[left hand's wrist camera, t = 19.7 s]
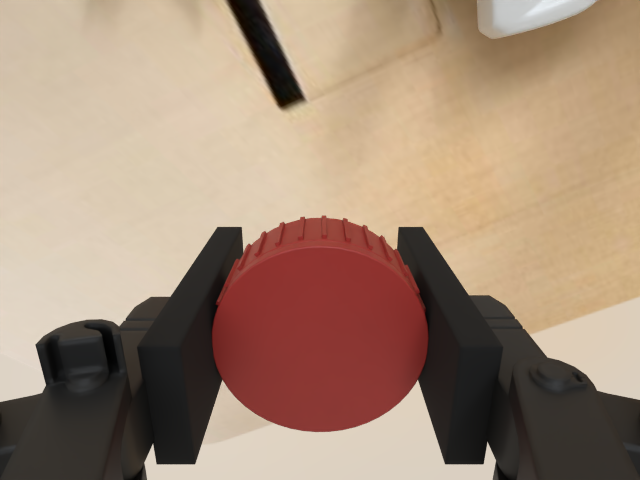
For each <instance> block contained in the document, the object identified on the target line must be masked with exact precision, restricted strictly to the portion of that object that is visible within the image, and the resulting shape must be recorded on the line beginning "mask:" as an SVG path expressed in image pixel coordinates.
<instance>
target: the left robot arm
mask: <svg viewBox="0 0 640 480" xmlns="http://www.w3.org/2000/svg"><path fill="white" fill-rule="evenodd" d="M397 250H398V252H399V254H400V256H401V258H402V261H403V263H404V265H408V267H409V269H410V272H411V274H412V276H413V278H414V280H415V282H416V285H417V287H418V289H419V291H420V293H419V295H420V297H421V299H422V301H423V303H424V306H425V308H426V312H425V315H426V320H427V324H428V332H429V339H428V350H427V357H426V362H425V364H424V367H423V370H422V372H421V374H420V376H419V378H418V381H419V384H420V387H421V390H422V393H423V397H424V400H425V403H426V406H427V409H428V412H429V415H430V418H431V421H432V425H433V428H434V431H435V434H436V437H437V440H438V443H439V446H440V449H441V453H442V456H443V459H444V462H445V464H484V458H485V453H486V447H487V441H488V443H489V446H490V448H491V450H492V452H493V454H494V457H495V459H496V464H495V470H494V475H493V480H640V400H637V399H632V398H627V397H622V396H617V395H612V394H607V393H603V392H600V391H597V390H596V388H595V386H594V384H593V383H592V382H591V380H590V379H589V378H588V377H587V375H585V374H584V373H582V372H581V371H580V370H578V369H577V368H575V367H574V366H571V365H569V364H567V363H564V362H562V361H559V360H555V359H551V358H547V356H546V355H545V354H544V353H543V352H542V350H541V349H540V348H539V347H538V345H537V344H536V343H535V342H534V340H533V339H532V338H531V337H530V335H529V334H528V333H527V332H526V330H525V329H523V328H522V325H521V324H520V323H519V322H518V320H517V319H515V317H514V315H513V314H512V313H511V312H510V311H509V309H508V308H507V307H506V306H505V305H504V304H502V303H501V302H499V301H497V300H496V299H494V298H493V297H491V296H489V295H468V294H467V292H466V291H465V289H464V288H463V286H462V285H461V283H460V282H459V280H458V279H457V277H456V276H455V274H454V273H453V271H452V270H451V268H450V267H449V265H448V264H447V262H446V261H445V259H444V258H443V256H442V255H441V254H440V252H439V251H438V249H437V248H436V246H435V245H434V243H433V242H432V240H431V239H430V237H429V236H428V234H427V233H426V231H425V230H424V228H423V227H399V230H398V245H397ZM242 255H243V240H242V227H217V229H216V230H215V232H214V233H213V235H212V236H211V238H210V239H209V241H208V242H207V244H206V245H205V247H204V248H203V250H202V251H201V252H200V254H199V255H198V257H197V258H196V260H195V261H194V263H193V264H192V266H191V267H190V269H189V270H188V272H187V273H186V275H185V276H184V278H183V279H182V281H181V282H180V284H179V285H178V287H177V288H176V290H175V291H174V293H173V294H172V295H171V297H150V298H149V299H147V300H145V301H144V302H142V303H141V304H139V305H137V306H136V307H135V308H134V309H133V310H132V311H131V313H130V314H129V315H128V317H127V318H126V321H124V322H123V323H122V324H121V325H120V327H119V326H118V325H116V324H115V323H114V322H111V321H107V320H102V319H99V320H84V321H79V322H74V323H70V324H68V325H65V326H62V327H60V328H57V329H55V330H53V331H52V332H50V333H48V334H47V335H45V336H43V337H42V338H41V340H40V341H39V342H38V343H37V344H36V348H37V352H38V356H39V360H40V363H41V367H42V371H43V375H44V379H45V382H46V387H45V389H44V391H43V393H41V394H37V395H33V396H28V397H23V398H18V399H13V400H8V401H3V402H0V480H147V477H146V470H145V465H144V462H145V460H146V457H147V455H148V453H149V451H150V449H151V446H152V444H153V445H154V451H155V456H156V463H157V464H195V463H196V460H197V457H198V454H199V450H200V447H201V444H202V441H203V438H204V435H205V432H206V429H207V426H208V422H209V419H210V416H211V413H212V410H213V407H214V404H215V401H216V398H217V394H218V391H219V388H220V385H221V382H222V378H221V376H220V373H219V371H218V369H217V367H216V363H215V360H214V356H213V346H212V326H213V320H214V316H215V313H216V311H217V308H218V305H216V302H217V299H218V297H219V295H220V293H221V291H222V289H223V286H224V284H225V282H226V280H227V278H228V275H229V273H230V271H231V269H232V267H233V265H234V262H235V261H236V259H238V260H240V258H241V257H242Z"/></svg>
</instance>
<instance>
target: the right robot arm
mask: <svg viewBox="0 0 640 480" xmlns="http://www.w3.org/2000/svg"><path fill="white" fill-rule="evenodd" d="M596 1H598V0H477V16H478V29H479V31H480V32H481V33H482V34H484V35H485V36H487V37H488V38H490V39H496V38H502V37H506V36H510V35H515V34H519V33H523V32H526V31H530V30H534V29H537V28H541V27H544V26H547V25H550V24H553V23H556V22H559V21H561V20H564V19H567V18H569V17H572V16H574V15H577V14H579V13H581V12H583V11H584V10H586V9H588V8H589V7H590V6H592V5H593V4H594V3H595V2H596Z"/></svg>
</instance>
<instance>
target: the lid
mask: <svg viewBox="0 0 640 480" xmlns="http://www.w3.org/2000/svg"><path fill="white" fill-rule="evenodd" d="M419 293H420V291H419V289H418V287H417V285H416V282H415V280H414V278H413V276H412V274H411V272H410V269H409V267H408V265H404V263H403V261H402V258H401V256H400V254H399V252H398V250H397V249H395V250H393V249H392V248H391V247H390V246H389V245H388V244H387V243H386V240H385V238H384V237H383V236H382V235H381V236H380V237H379V236H377V235H376V234H374V233H373V232H371V231H369V230H368V228H367V226H365V225H363V227H362V226H359V225H356V224H353V223H351V222H348V220H347V219H345V218H343V220H338V219H330V218H326V216H322V218H309V219H305V217H300V220H297V221H294V222H290V223H287V224H285V223H284V222H282V223H280V225H279V227H277V228H275V229H273V230H271V231H269V232H268V233H266V232H265V231H264V232H263V233H262V234H261V237H260V238H259V239H258V240H257V241H255V242H254V243H253V244H252V245H250V244H248V245H247V246H246V248H245V251H244V253H243V255H242V257H241V258H240V260H238V259H236V261H235V262H234V265H233V267H232V269H231V271H230V273H229V275H228V278H227V280H226V282H225V284H224V286H223V289H222V291H221V293H220V295H219V297H218V299H217V302H216V305H218V308H217V311H216V313H215V316H214V320H213V326H212V346H213V356H214V360H215V363H216V367H217V369H218V371H219V373H220V376H221V378H222V380H223V381H224V383H225V384H226V386H227V387H228V389H229V390H230V391H231V392H232V394H233V395H234V396H235V397H236V398H237V399H238V400H239V401H240V402H241V403H242V404H243V405H244V406H245V407H247V408H248V409H250V410H251V411H252V412H254V413H255V414H257V415H259V416H260V417H262V418H264V419H266V420H268V421H270V422H273V423H275V424H278V425H281V426H284V427H288V428H291V429H296V430H301V431H311V432H331V431H338V430H345V429H349V428H353V427H357V426H360V425H362V424H365V423H368V422H370V421H372V420H374V419H376V418H378V417H380V416H382V415H383V414H385V413H386V412H388V411H390V410H391V409H392V408H393V407H395V406H396V405H397V404H398V403H399V402H400V401H401V400H402V399H403V398H404V397H405V396H406V395H407V394H408V393H409V392H410V390H411V389H412V388H413V386H414V385H415V383H416V382H417V380H418V378H419V376H420V374H421V372H422V370H423V367H424V364H425V362H426V357H427V350H428V339H429V332H428V324H427V320H426V315H425V312H426V308H425V306H424V303H423V301H422V299H421V297H420V295H419Z"/></svg>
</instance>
